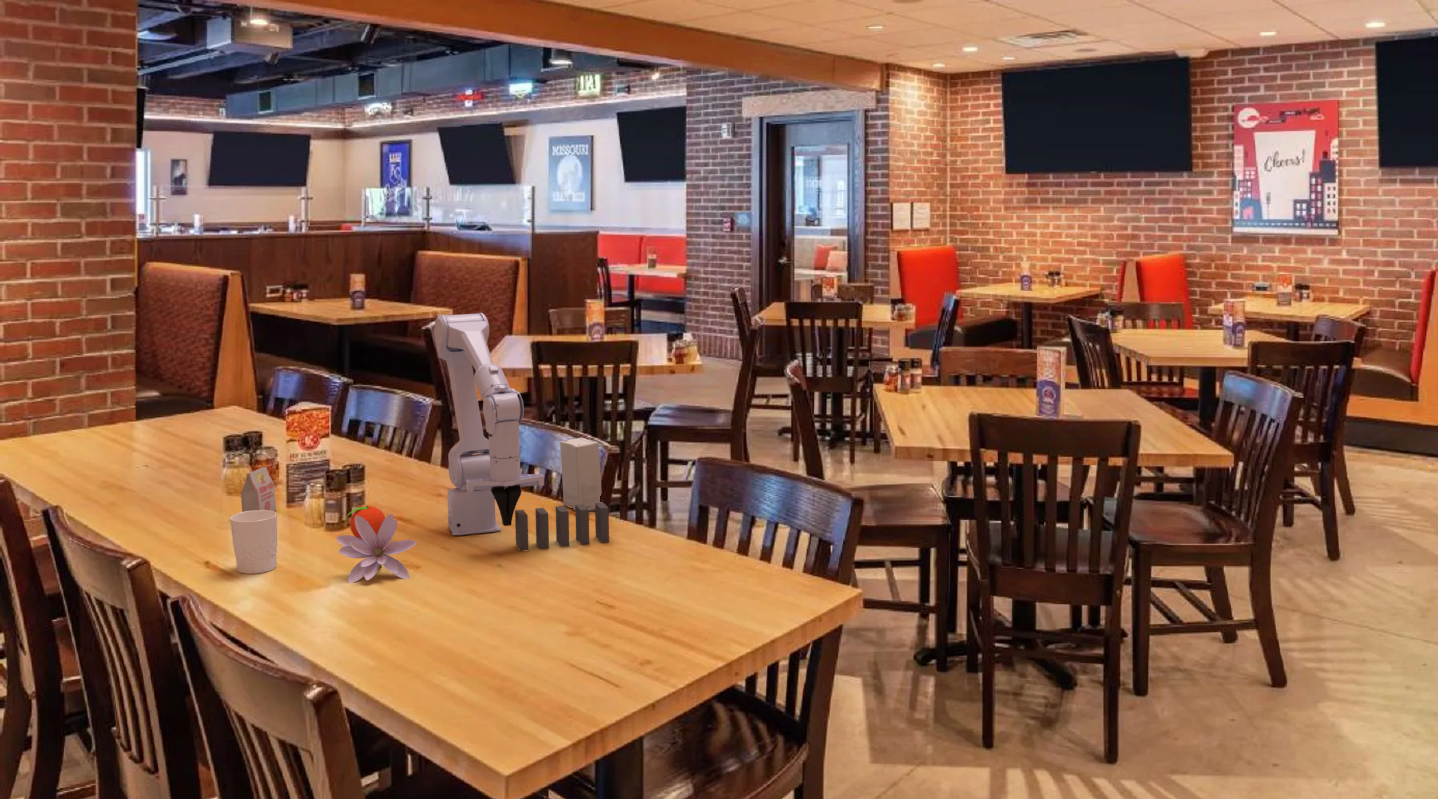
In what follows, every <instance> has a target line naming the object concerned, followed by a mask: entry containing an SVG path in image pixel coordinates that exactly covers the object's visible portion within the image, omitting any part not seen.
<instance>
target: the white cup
mask: <svg viewBox="0 0 1438 799" xmlns="http://www.w3.org/2000/svg"><path fill="white" fill-rule="evenodd" d="M277 518H278V515H277V511H276V512H274V511H269V510H253V511H245V512H242V511H240V512H237V513H234V514H233V515H231V516H230V517H229V520H230V521H229V522H230V527H231V536H232V544H233V545H232V546H233V551H234V552H233V553H234V557H235V563H236V564H235V565H236V570H237V572H239V573H241V574H247V575H250V574H251V575H254V574H255V575H256V574H263V573H267V572H270V571H272V570H274V569H276V568H277V566H278V565H277V562H278V561H277V553H278V519H277Z"/></svg>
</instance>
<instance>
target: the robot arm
mask: <svg viewBox="0 0 1438 799" xmlns="http://www.w3.org/2000/svg"><path fill="white" fill-rule="evenodd" d="M433 332H434V333H433V334H434V339H435V340H434V341H435V347H436V352H437V353H438V354H437V356H438V358H439V359H442V360H443V361H445V362H446V366H447V370H448V374H449V375H448V376H449V381H450V387H451V393H452V400H453V405H454V406H453V407H454V413H455V419H456V420H455V421H456V425H457V431H458V437H459V440H458V442H456V443H455V445H453V446H452V447H451V448H450V450H449V452H448V455H447V456H448V457H447V458H448V475H449V476H448V477H449V480H450V482H451V484H452V485H453V487H452V488H449V489H448V490H447V514H448V515H447V526H448V528H449V530H450V532H451V534H452V535H453V536H462V535H474V534H484V533H494V532H500V531H501V528H500V526H499V525H498V523H497V521H496V504H497V507H498V510H499V512H500V514H499V515H500V517H501V523H502V526H503V527H509V526H512V523H513V522H512V521H513V515H514V514H515V509H516V507H517V505H518V504H517V503H518V501H519V500H520V497H521V495H522V489H521V487H533V486H538V487H543V486H545V476H544V475H543V474H542V473H535V474H534V473H531V474H530V473H529V474H525V473H524V474H523V473H522V474H521V456H520V455H521V452H520V451H521V449H520V448H521V446H520V444H521V443H520V423H519V422H522V421H523V418H524V415H525V407H524V400H523V398H522V395H521V393H520V392H519V391H517V390H516V389H515V388H512V387H511V386H510V383H509V382H508V380H507V377H506V375H505V373H504V370H503V369H502V368H501V366H500V365H498V364H494V361H493V359H492V358H493V357H492V356H491V352H490V349H489V346H488V341H489V336H490V324H489V320H488V318H487V316H486V315H485V314H484V313H483V312H478V313H467V314H449V315H448V314H447V315H443V314H439V315H438V316H437V318H436V319H435V322H434V329H433ZM474 370H475V373H474ZM477 391H478V392H479V395H480V397H481V399H482V401H483V404H482V414H483V418H484V421H485V430H486V432H487V433H488V438H486V437H485V435H484V429H483V424H482V423H483V422H482V417H481V413H480V406H479V399H478V394H477Z"/></svg>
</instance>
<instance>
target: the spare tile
mask: <svg viewBox="0 0 1438 799" xmlns="http://www.w3.org/2000/svg"><path fill="white" fill-rule="evenodd" d="M555 537H556V538H555V539H556V542H557V543H558V544H559V545H558V546H560V547H561V548H564V546H566V547H570V516H569V510H568V509H567V507H566V506H564V505H558V506H557V505H556V506H555Z"/></svg>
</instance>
